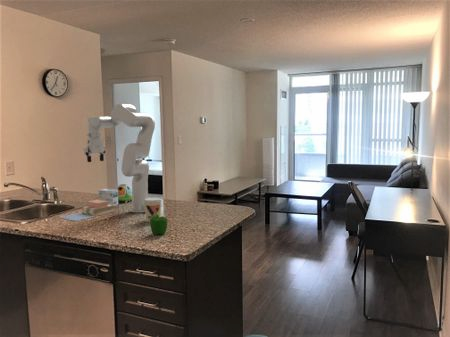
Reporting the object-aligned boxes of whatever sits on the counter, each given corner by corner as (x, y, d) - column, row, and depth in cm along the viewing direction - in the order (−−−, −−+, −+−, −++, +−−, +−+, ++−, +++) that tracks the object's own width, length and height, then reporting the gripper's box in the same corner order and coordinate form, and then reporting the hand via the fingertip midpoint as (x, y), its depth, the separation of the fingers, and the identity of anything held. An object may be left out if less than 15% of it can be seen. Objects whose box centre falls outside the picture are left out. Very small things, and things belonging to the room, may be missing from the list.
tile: (107, 206, 234) (107, 201, 234) (98, 208, 229) (98, 203, 228) (97, 204, 240) (97, 199, 240) (87, 206, 234) (87, 201, 234)
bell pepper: (168, 231, 192) (168, 211, 191) (166, 235, 183) (166, 215, 182) (151, 231, 191) (151, 211, 190) (148, 236, 183) (148, 215, 182)
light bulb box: (118, 205, 259) (118, 189, 258) (113, 206, 253) (112, 190, 252) (104, 204, 262) (103, 188, 261) (98, 206, 255) (98, 190, 254)
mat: (95, 216, 224) (95, 216, 224) (75, 221, 213) (75, 220, 213) (78, 213, 233) (78, 213, 233) (58, 217, 222) (58, 217, 222)
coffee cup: (145, 223, 209) (144, 201, 208) (144, 219, 218) (143, 198, 217) (162, 221, 211) (162, 200, 210) (160, 218, 220) (160, 197, 219)
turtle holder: (137, 198, 282) (136, 182, 281) (128, 203, 264) (127, 186, 263) (120, 198, 283) (119, 182, 282) (110, 203, 265) (110, 186, 264)
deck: (114, 211, 237) (114, 205, 237) (95, 216, 226) (94, 209, 226) (101, 209, 244) (101, 203, 244) (82, 213, 233) (82, 207, 232)
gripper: (86, 135, 248) (87, 162, 249) (108, 135, 262) (109, 160, 263) (79, 135, 252) (80, 162, 254) (101, 135, 266) (102, 160, 268)
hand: (95, 161), depth 258 cm, fingers open, 9 cm apart
